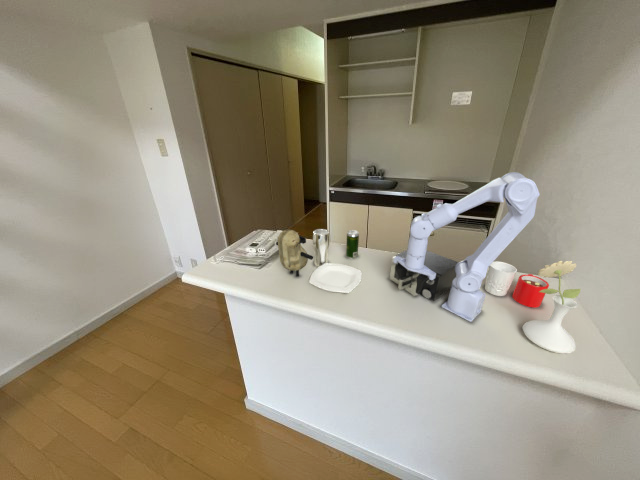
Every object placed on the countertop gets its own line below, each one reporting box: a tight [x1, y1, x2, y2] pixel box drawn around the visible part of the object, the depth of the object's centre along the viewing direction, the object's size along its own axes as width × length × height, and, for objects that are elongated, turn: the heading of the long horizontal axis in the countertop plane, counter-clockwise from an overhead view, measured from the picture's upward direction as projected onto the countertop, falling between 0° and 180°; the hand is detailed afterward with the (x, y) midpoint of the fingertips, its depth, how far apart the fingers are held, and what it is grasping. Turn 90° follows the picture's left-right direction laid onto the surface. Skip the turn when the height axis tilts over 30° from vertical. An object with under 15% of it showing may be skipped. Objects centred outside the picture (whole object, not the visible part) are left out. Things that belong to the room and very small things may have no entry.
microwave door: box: [389, 255, 421, 297], centre depth 92 cm, size 7×13×10 cm, turn 29°
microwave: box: [395, 249, 460, 302], centre depth 96 cm, size 15×18×10 cm
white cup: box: [484, 260, 518, 297], centre depth 91 cm, size 8×8×10 cm
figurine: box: [275, 229, 314, 278], centre depth 100 cm, size 19×12×20 cm, turn 49°
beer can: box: [345, 229, 360, 260], centre depth 115 cm, size 5×5×12 cm
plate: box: [308, 262, 363, 294], centre depth 99 cm, size 19×19×2 cm
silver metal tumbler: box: [312, 228, 330, 268], centre depth 109 cm, size 7×7×15 cm
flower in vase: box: [522, 260, 581, 354], centre depth 67 cm, size 13×11×25 cm
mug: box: [511, 273, 550, 308], centre depth 88 cm, size 8×12×8 cm, turn 152°
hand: (410, 287), depth 88 cm, fingers open, 6 cm apart
